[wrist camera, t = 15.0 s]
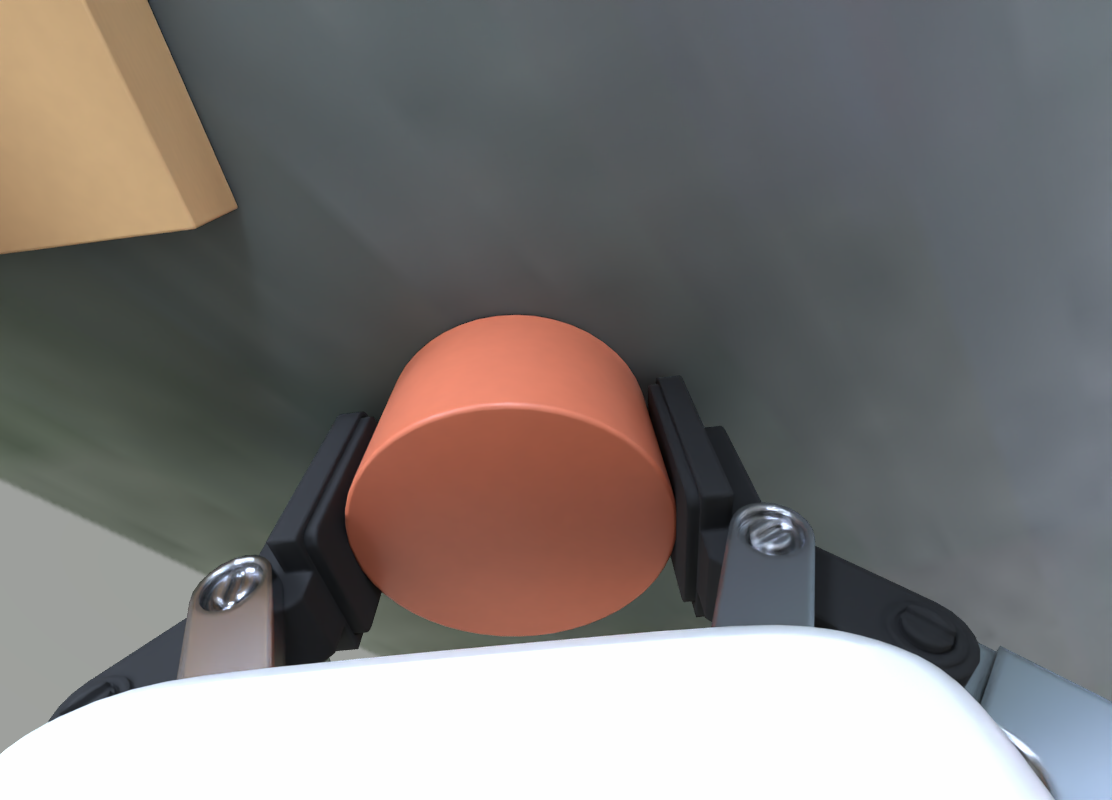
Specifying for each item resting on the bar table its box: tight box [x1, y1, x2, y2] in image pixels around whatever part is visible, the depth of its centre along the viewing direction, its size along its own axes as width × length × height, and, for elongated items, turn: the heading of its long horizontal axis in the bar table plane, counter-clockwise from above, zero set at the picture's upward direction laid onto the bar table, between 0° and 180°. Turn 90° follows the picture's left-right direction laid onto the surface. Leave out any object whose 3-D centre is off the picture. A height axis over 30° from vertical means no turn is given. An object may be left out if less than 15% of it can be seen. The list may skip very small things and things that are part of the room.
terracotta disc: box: [345, 315, 676, 636], centre depth 12 cm, size 6×6×4 cm
